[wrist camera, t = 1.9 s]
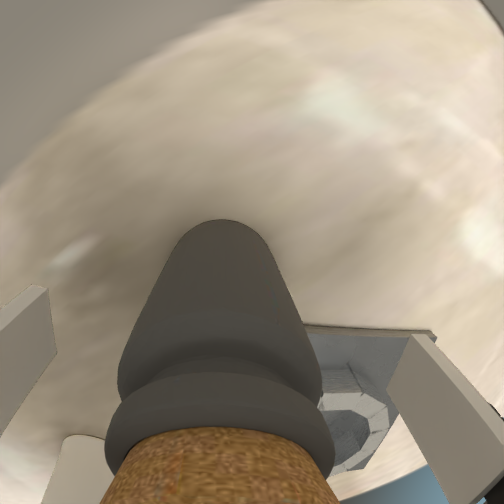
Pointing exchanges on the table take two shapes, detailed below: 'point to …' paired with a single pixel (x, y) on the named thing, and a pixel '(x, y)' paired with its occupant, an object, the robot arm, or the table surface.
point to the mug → (79, 472)
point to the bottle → (219, 385)
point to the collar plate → (357, 387)
